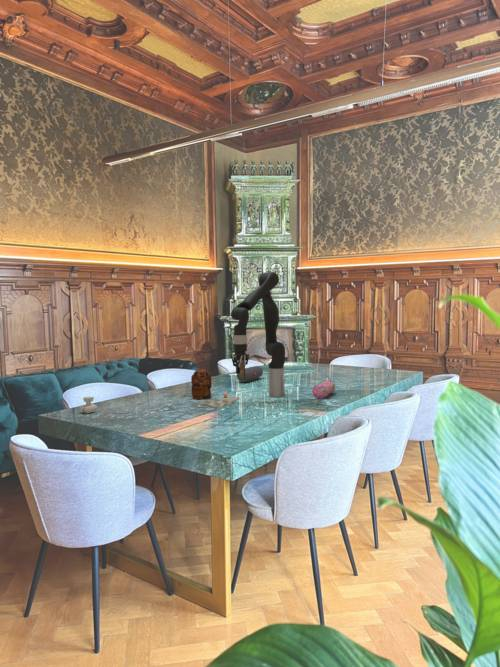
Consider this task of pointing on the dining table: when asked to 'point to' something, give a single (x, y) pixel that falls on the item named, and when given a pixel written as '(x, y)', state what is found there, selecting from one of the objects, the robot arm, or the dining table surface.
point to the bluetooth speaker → (251, 374)
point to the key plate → (229, 397)
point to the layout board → (216, 403)
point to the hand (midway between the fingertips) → (240, 372)
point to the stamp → (88, 405)
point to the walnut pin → (241, 369)
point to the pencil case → (323, 389)
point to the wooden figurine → (201, 384)
